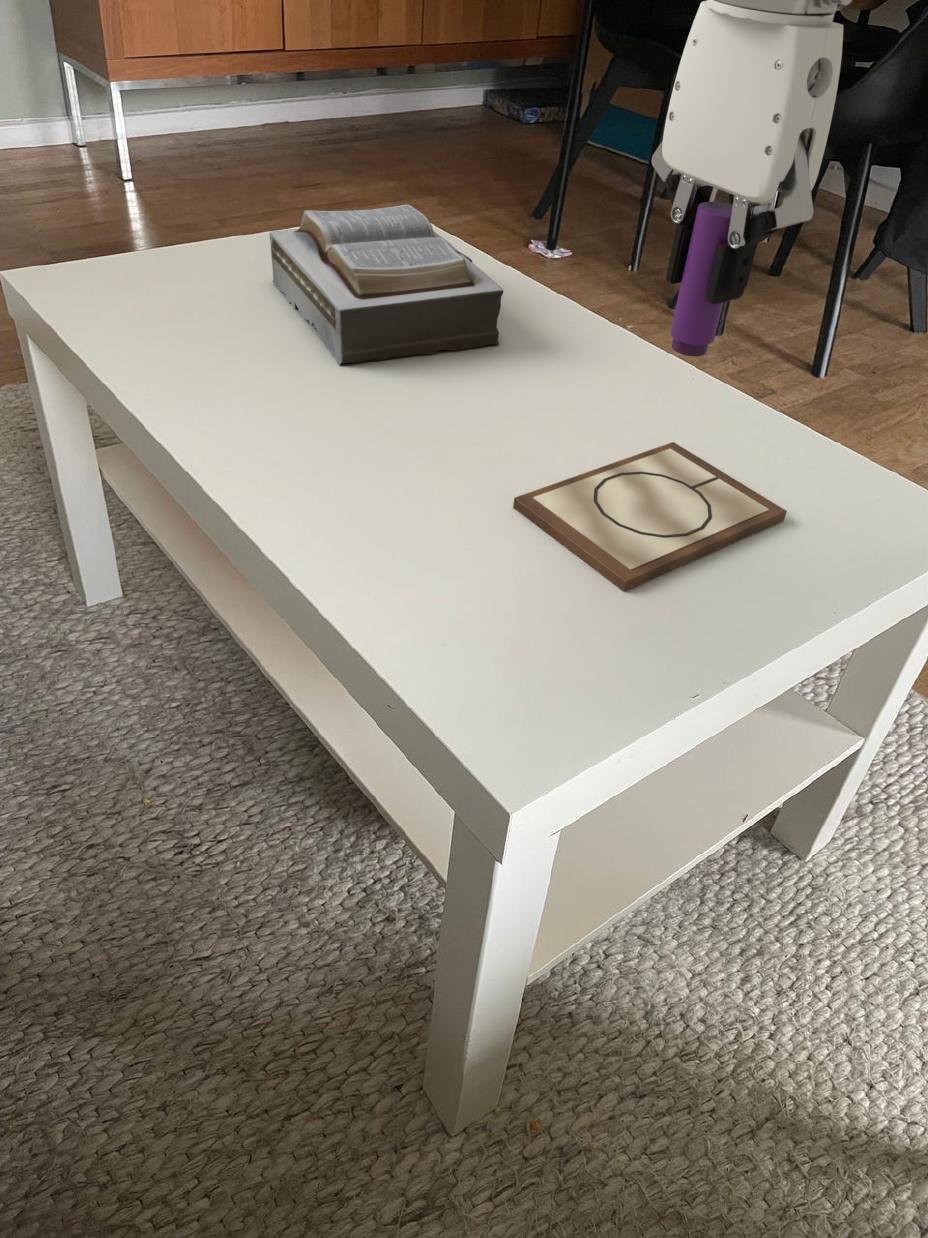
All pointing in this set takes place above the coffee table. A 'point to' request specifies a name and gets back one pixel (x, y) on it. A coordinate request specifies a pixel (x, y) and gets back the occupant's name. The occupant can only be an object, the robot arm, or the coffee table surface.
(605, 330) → the coffee table surface
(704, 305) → the marker
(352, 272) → the bible
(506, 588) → the coffee table surface
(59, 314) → the coffee table surface
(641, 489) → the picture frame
